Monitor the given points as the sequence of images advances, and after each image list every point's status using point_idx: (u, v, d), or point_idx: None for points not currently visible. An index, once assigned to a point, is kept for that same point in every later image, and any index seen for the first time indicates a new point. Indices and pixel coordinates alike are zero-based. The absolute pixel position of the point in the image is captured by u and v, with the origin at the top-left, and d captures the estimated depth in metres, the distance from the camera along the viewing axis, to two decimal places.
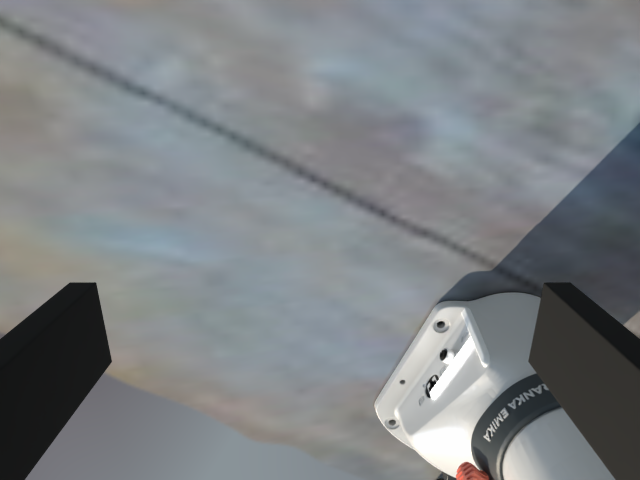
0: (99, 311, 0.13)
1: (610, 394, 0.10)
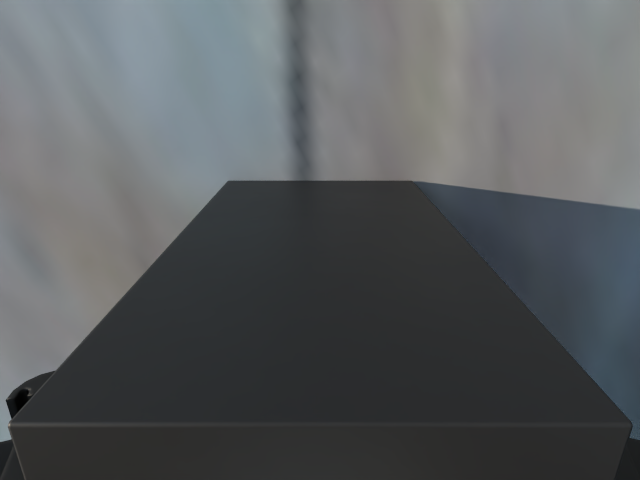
0: None
1: None
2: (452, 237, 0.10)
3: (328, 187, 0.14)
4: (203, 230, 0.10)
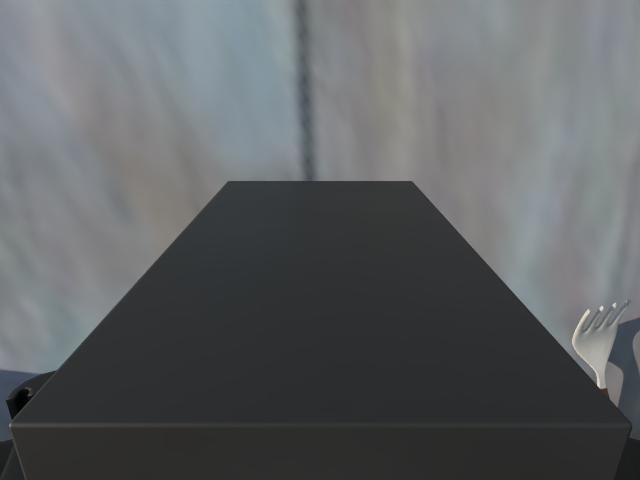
0: None
1: None
2: (452, 237, 0.10)
3: (328, 187, 0.14)
4: (203, 231, 0.10)
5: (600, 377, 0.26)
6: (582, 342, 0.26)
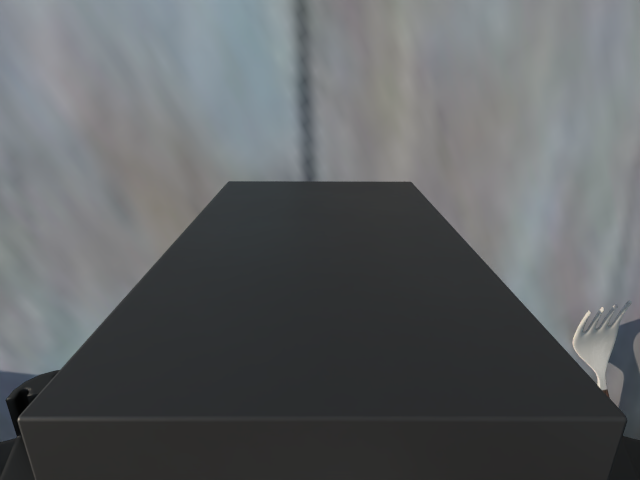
0: None
1: None
2: (451, 237, 0.10)
3: (328, 188, 0.14)
4: (205, 230, 0.10)
5: (601, 378, 0.26)
6: (582, 343, 0.26)
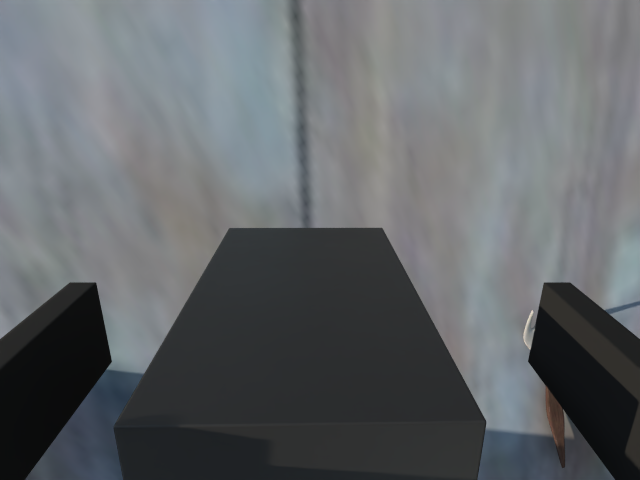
0: (99, 311, 0.13)
1: (610, 394, 0.10)
2: (404, 285, 0.13)
3: (312, 235, 0.17)
4: (214, 280, 0.13)
5: None
6: (531, 338, 0.31)
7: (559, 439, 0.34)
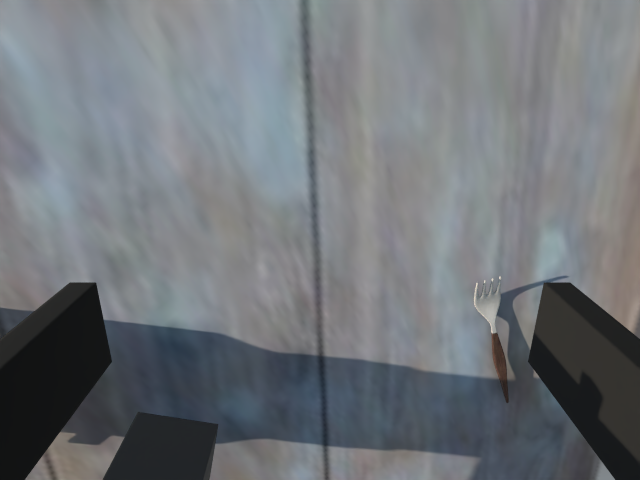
0: (98, 311, 0.13)
1: (610, 394, 0.10)
2: None
3: (178, 428, 0.34)
4: (115, 469, 0.30)
5: (492, 326, 0.43)
6: (480, 303, 0.42)
7: (503, 380, 0.45)
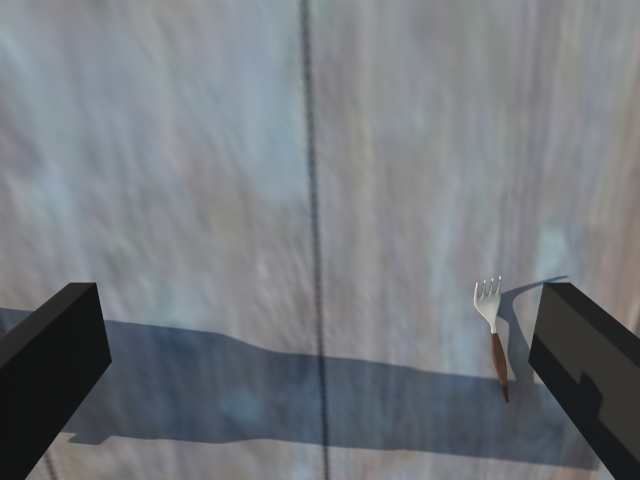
0: (98, 311, 0.13)
1: (610, 394, 0.10)
2: None
3: None
4: None
5: (492, 326, 0.43)
6: (480, 303, 0.42)
7: (503, 380, 0.45)
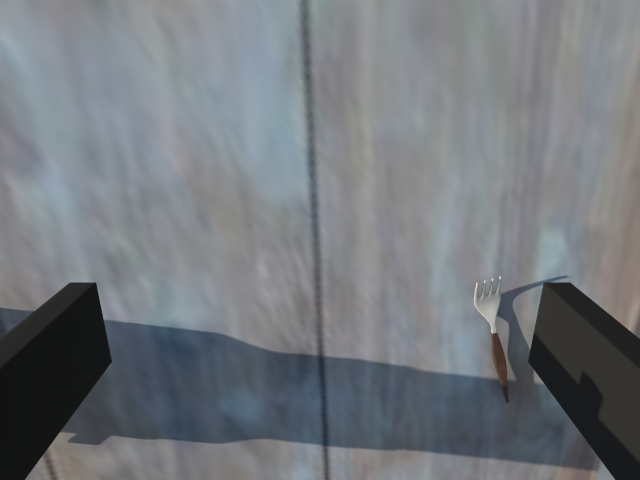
0: (98, 311, 0.13)
1: (610, 394, 0.10)
2: None
3: None
4: None
5: (492, 326, 0.43)
6: (480, 303, 0.42)
7: (503, 380, 0.45)
